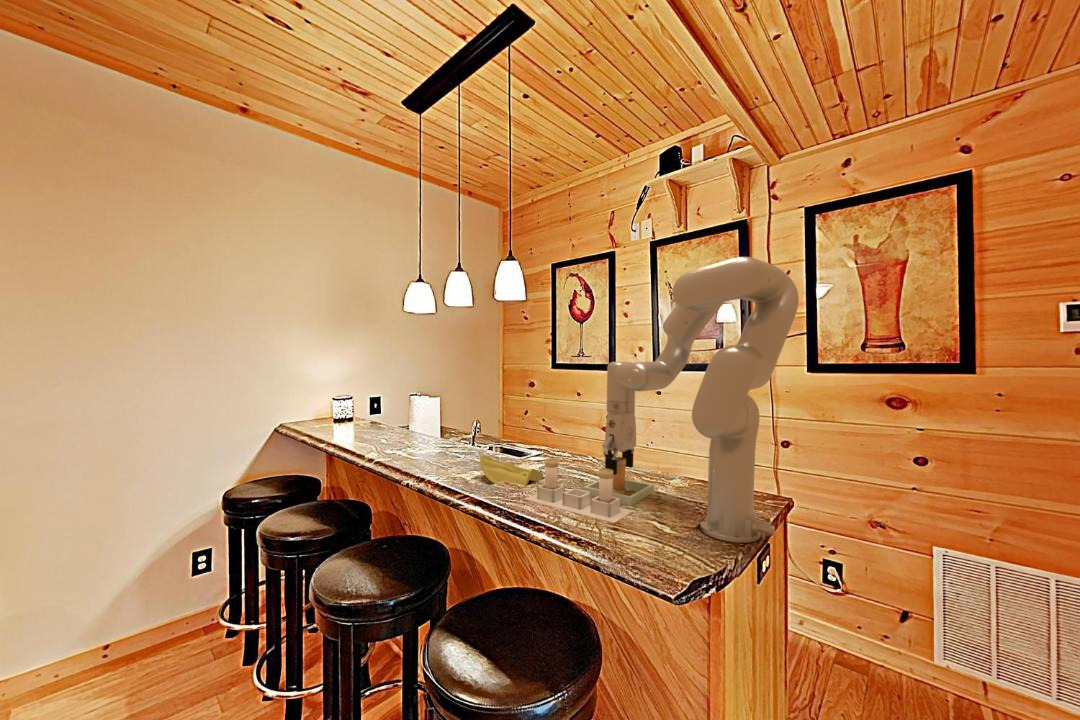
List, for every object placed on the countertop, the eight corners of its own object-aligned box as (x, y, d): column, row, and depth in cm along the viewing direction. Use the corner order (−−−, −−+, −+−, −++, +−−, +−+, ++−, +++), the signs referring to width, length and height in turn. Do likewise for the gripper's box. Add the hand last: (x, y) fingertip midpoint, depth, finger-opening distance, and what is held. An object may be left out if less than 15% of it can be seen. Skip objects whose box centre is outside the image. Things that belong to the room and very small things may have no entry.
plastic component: (546, 475, 140) (530, 467, 132) (538, 499, 138) (522, 492, 130) (495, 460, 151) (478, 452, 143) (487, 482, 149) (469, 475, 141)
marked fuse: (627, 494, 126) (628, 458, 126) (621, 497, 123) (622, 461, 123) (615, 491, 128) (617, 456, 128) (609, 495, 125) (611, 458, 125)
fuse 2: (614, 511, 112) (615, 470, 111) (608, 515, 109) (609, 473, 109) (602, 508, 114) (603, 467, 113) (595, 512, 111) (596, 470, 111)
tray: (653, 497, 127) (653, 484, 127) (631, 511, 116) (631, 497, 116) (608, 487, 136) (608, 475, 135) (583, 499, 124) (583, 486, 124)
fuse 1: (560, 497, 121) (560, 459, 121) (552, 501, 118) (553, 462, 118) (549, 495, 123) (550, 457, 123) (541, 498, 120) (542, 460, 120)
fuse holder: (546, 495, 128) (546, 478, 128) (633, 516, 112) (633, 498, 112) (523, 504, 120) (524, 487, 120) (614, 529, 104) (614, 509, 104)
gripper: (618, 411, 116) (617, 479, 116) (646, 405, 130) (645, 466, 130) (592, 409, 120) (591, 474, 121) (622, 403, 134) (621, 462, 135)
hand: (619, 470), depth 126 cm, fingers open, 9 cm apart
